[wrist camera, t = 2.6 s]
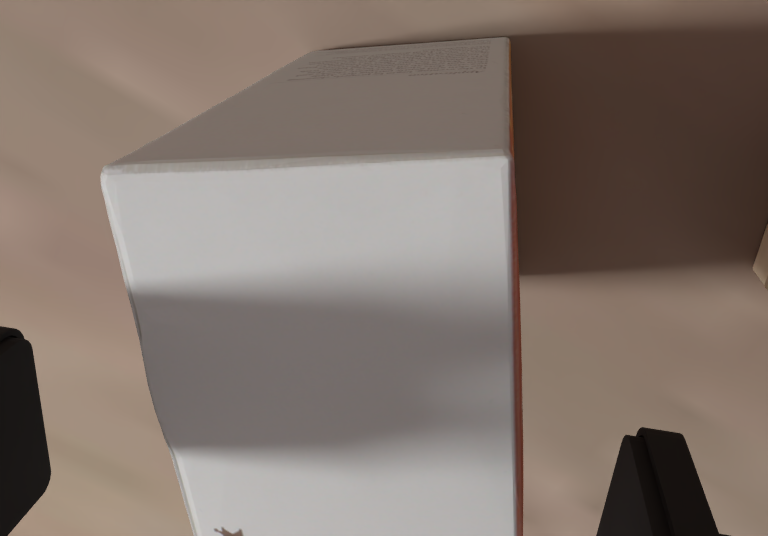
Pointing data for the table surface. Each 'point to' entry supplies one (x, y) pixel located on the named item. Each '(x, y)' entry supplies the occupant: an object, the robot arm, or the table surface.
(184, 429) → the small box
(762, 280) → the book rack
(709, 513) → the robot arm
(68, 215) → the table surface
